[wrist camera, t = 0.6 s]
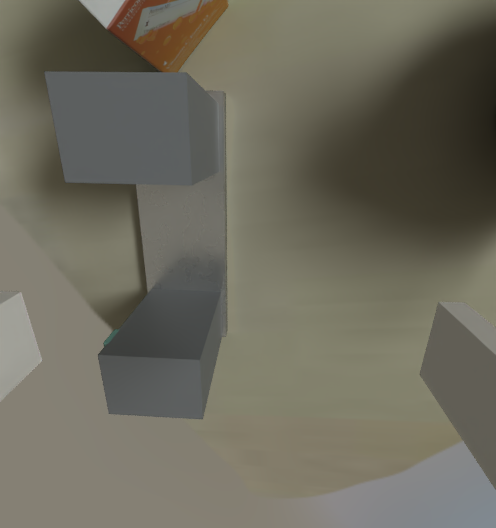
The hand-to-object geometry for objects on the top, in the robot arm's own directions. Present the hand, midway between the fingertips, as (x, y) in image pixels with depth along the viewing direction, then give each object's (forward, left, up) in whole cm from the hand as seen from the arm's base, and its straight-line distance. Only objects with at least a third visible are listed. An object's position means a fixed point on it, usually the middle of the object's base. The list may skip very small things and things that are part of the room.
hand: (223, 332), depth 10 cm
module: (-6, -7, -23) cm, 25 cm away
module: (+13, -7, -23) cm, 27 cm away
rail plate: (+3, -7, -24) cm, 25 cm away
